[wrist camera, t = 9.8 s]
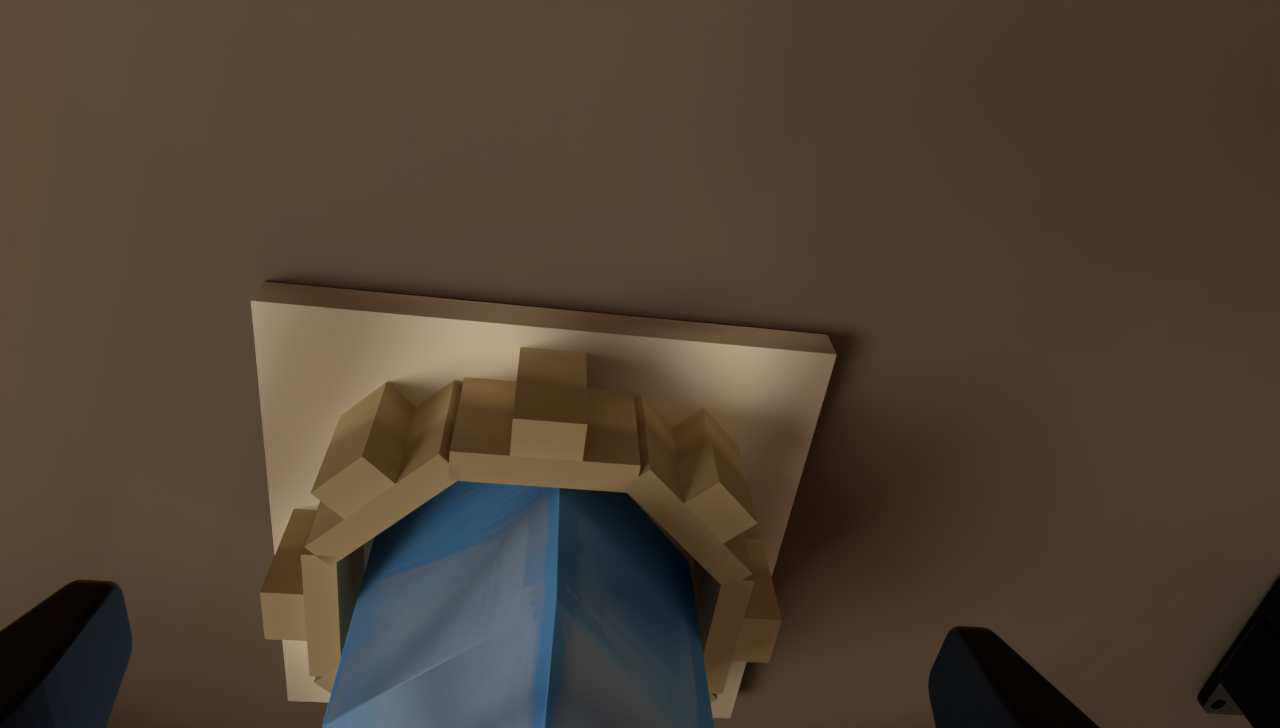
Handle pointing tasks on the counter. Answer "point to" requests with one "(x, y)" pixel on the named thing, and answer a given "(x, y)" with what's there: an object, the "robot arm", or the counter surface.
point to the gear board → (525, 444)
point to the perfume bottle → (523, 618)
